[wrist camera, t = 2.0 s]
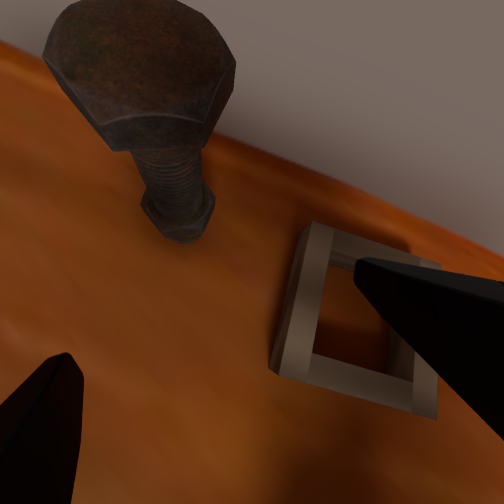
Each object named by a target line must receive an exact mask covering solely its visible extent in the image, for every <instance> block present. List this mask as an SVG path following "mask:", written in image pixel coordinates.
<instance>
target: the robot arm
mask: <svg viewBox="0 0 504 504" xmlns="http://www.w3.org/2000/svg"><path fill="white" fill-rule="evenodd" d="M353 280H354V283H355V285H356V287H357V288H358V289H359V290H360V291H361V293H362V294H363V295H364V296H365V298H366V299H367V300H368V301H369V302H370V304H371V305H372V306H373V307H374V308H375V310H376V311H377V312H378V313H379V314H380V316H381V317H382V318H383V319H384V320H385V321H386V322H387V323H388V324H389V325H390V326H391V327H392V328H393V329H394V330H395V331H396V332H397V333H398V334H399V335H400V336H401V337H402V338H403V339H404V340H405V341H406V342H407V343H408V344H409V345H410V346H411V347H412V349H413V350H414V351H415V352H416V353H417V354H418V355H419V356H420V357H421V358H422V359H423V360H424V361H425V362H426V363H427V364H428V365H429V366H430V367H431V368H432V369H433V370H434V371H435V372H436V373H437V374H438V375H439V376H440V377H441V378H442V379H443V380H444V381H445V382H446V383H447V384H448V385H449V386H450V387H451V388H452V389H453V390H454V391H455V392H456V393H457V394H458V395H459V396H460V397H461V398H462V399H463V400H464V401H465V402H466V403H467V404H468V405H469V406H470V407H471V408H472V409H473V410H474V411H475V412H476V413H477V414H478V415H479V416H480V417H481V418H482V419H483V420H484V421H485V422H486V423H487V424H488V425H489V426H490V427H491V428H492V429H493V430H494V431H495V432H496V433H497V434H498V435H499V436H500V437H501V438H502V439H503V440H504V282H502V281H498V282H497V281H496V280H491V279H486V278H481V277H475V276H470V275H464V274H459V273H454V272H448V271H443V270H438V269H432V268H427V267H422V266H416V265H411V264H405V263H400V262H395V261H389V260H384V259H379V258H373V257H363V258H360V259H358V260H357V261H356V262H355V269H354V277H353ZM83 393H84V376H83V373H82V371H81V370H80V368H79V366H78V365H77V363H76V362H75V360H74V359H73V357H72V356H71V354H69V353H66V352H65V353H61V354H58V355H55V356H52V357H49V358H48V359H46V360H45V361H44V362H43V363H42V364H41V365H40V366H39V367H38V368H37V369H36V370H35V371H34V372H33V373H32V374H31V375H30V376H29V377H28V378H27V379H26V380H25V381H24V382H23V383H22V384H21V385H20V386H19V387H18V388H17V389H16V390H15V391H14V392H13V393H12V394H11V395H10V396H9V397H8V398H7V399H6V400H5V401H4V402H3V403H2V404H1V405H0V504H71V500H72V494H73V488H74V482H75V476H76V470H77V463H78V457H79V451H80V444H81V432H82V412H83Z"/></svg>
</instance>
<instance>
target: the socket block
mask: <svg viewBox="0 0 504 504" xmlns="http://www.w3.org/2000/svg"><path fill="white" fill-rule="evenodd" d="M363 257H373V258H379V259H384V260H389V261H395V262H400V263H405V264H411V265H416V266H422V267H427V268H432V269H438V270H441V264H439V263H436V262H433V261H430V260H427V259H424V258H421V257H418V256H415V255H413V254H410V253H407V252H404V251H401V250H398V249H395V248H392V247H389V246H386V245H383V244H380V243H377V242H374V241H371V240H368V239H365V238H362V237H359V236H356V235H353V234H351V233H348V232H345V231H342V230H339V229H336V228H333V227H330V226H327V225H324V224H321V223H318V222H315V221H311V222H310V223H309V224H308V225H307V226H306V227H305V228H304V229H303V230H302V231H301V232H300V234H299V238H298V242H297V247H296V251H295V255H294V259H293V264H292V268H291V272H290V277H289V281H288V285H287V290H286V294H285V298H284V303H283V307H282V311H281V315H280V320H279V324H278V328H277V333H276V337H275V341H274V346H273V350H272V354H271V359H270V363H269V367H268V368H269V369H270V370H272V371H273V372H274V373H276V374H277V375H279V376H282V377H286V378H289V379H293V380H297V381H300V382H304V383H307V384H311V385H314V386H318V387H321V388H325V389H328V390H332V391H336V392H339V393H343V394H346V395H350V396H353V397H357V398H360V399H364V400H367V401H371V402H375V403H378V404H382V405H385V406H389V407H392V408H396V409H399V410H403V411H407V412H410V413H414V414H417V415H421V416H424V417H428V418H431V419H435V420H437V391H438V374H437V373H436V372H435V371H434V370H433V369H432V368H431V367H430V366H429V365H428V364H427V363H426V362H425V361H424V360H423V359H422V358H421V357H420V356H419V355H418V354H417V353H416V352H415V351H414V350H413V349H412V347H411V346H410V345H409V344H408V343H407V342H406V341H405V340H404V339H403V338H402V337H401V336H400V335H399V334H398V333H397V332H396V331H395V330H394V329H393V328H392V327H391V326H390V332H389V343H388V354H387V365H386V374H383V373H379V372H376V371H372V370H369V369H366V368H362V367H359V366H355V365H352V364H348V363H345V362H342V361H338V360H335V359H331V358H328V357H325V356H321V355H318V354H314V353H312V348H313V343H314V338H315V332H316V327H317V321H318V316H319V310H320V305H321V299H322V294H323V289H324V283H325V278H326V272H327V267H328V263H329V264H332V265H335V266H338V267H341V268H344V269H347V270H350V271H353V272H354V269H355V262H356V261H357V260H358V259H360V258H363Z"/></svg>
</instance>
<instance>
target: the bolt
mask: <svg viewBox="0 0 504 504" xmlns="http://www.w3.org/2000/svg"><path fill="white" fill-rule="evenodd" d="M42 58H43V59H44V61H45V62H46V64H47V66H48V67H49V69H50V71H51V72H52V74H53V76H54V77H55V79H56V81H57V82H58V84H59V85H60V87H61V89H62V90H63V91H64V93H65V94H66V95H67V96H68V97H69V99H70V100H71V101H72V102H73V104H74V105H75V106H76V107H77V108H78V110H79V111H80V112H81V113H82V114H83V116H84V117H85V118H86V119H87V121H88V122H89V123H90V124H91V125H92V127H93V128H94V129H95V130H96V131H97V133H98V134H99V135H100V136H101V138H102V139H103V140H104V141H105V142H106V144H107V145H108V146H109V147H110V148H111V150H112V151H113V152H117V151H130V152H131V154H132V155H133V158H134V161H135V163H136V165H137V167H138V170H139V172H140V174H141V176H142V179H143V181H144V183H145V185H146V187H147V188H146V191H145V193H144V195H143V198H142V200H141V203H140V205H141V207H142V209H143V210H144V212H145V213H146V215H147V216H148V217H149V219H150V220H151V221H152V222H153V224H154V225H155V226H156V227H157V229H158V230H159V231H160V232H161V233H162V234H163V236H164V237H165V238H171V239H173V240H174V241H175V242H177V243H180V244H188V243H192V242H193V240H195V239H196V240H197V239H198V238H199V237H200V236H201V234H202V233H203V231H204V229H205V228H206V226H207V223H208V221H209V219H210V217H211V214H212V212H213V209H214V206H215V196H214V195H213V193H212V192H211V190H210V189H209V187H208V186H207V185H206V183H205V182H204V181H203V180H202V164H201V160H202V158H201V149H200V148H203V147H205V145H206V143H207V141H208V139H209V137H210V135H211V133H212V131H213V129H214V127H215V125H216V123H217V121H218V119H219V117H220V115H221V113H222V111H223V109H224V107H225V105H226V103H227V101H228V99H229V97H230V95H231V93H232V91H233V87H234V77H235V68H236V61H235V59H234V57H233V55H232V53H231V51H230V49H229V48H228V46H227V44H226V42H225V41H224V39H223V38H222V36H221V35H220V33H219V32H218V30H217V29H216V27H215V26H214V25H213V24H212V23H211V22H210V21H209V20H208V19H207V18H206V17H205V16H204V15H203V14H202V13H200V12H198V11H196V10H194V9H192V8H191V7H189V6H187V5H185V4H183V3H181V2H179V1H177V0H81V1H78V2H76V3H73V4H71V5H70V6H68V7H67V8H66V9H65V10H64V11H63V12H62V13H61V14H60V15H59V17H58V18H57V19H56V21H55V23H54V25H53V27H52V29H51V31H50V33H49V35H48V38H47V42H46V45H45V48H44V51H43V55H42Z"/></svg>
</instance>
